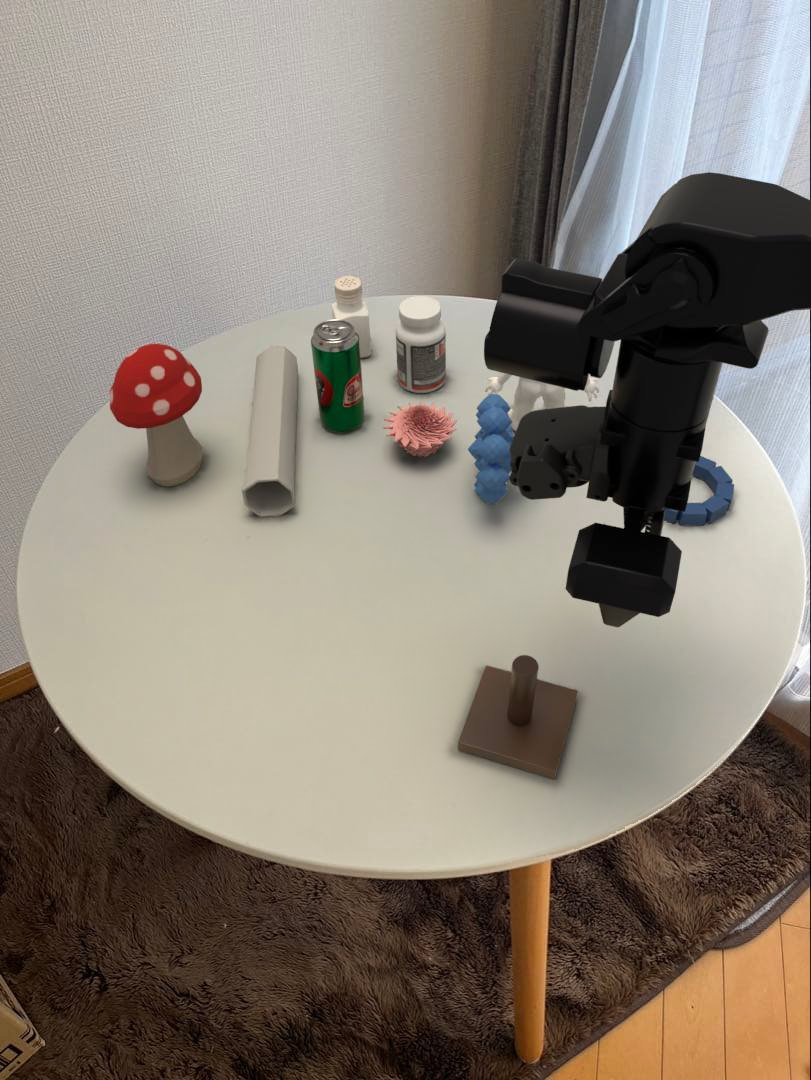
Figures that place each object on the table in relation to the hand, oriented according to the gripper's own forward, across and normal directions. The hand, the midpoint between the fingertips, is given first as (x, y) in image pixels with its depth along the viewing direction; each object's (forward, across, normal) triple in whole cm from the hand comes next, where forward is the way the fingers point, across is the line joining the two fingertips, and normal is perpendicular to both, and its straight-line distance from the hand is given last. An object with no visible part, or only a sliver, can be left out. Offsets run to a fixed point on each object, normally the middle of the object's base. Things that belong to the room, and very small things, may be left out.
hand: (622, 575), depth 64 cm
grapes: (+16, -22, -14) cm, 30 cm away
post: (+16, +4, -6) cm, 17 cm away
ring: (+16, -27, +4) cm, 32 cm away
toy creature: (+16, -34, -13) cm, 39 cm away
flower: (+16, -26, -24) cm, 39 cm away
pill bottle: (+16, -38, -28) cm, 50 cm away
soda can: (+16, -28, -34) cm, 47 cm away
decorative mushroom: (+16, -16, -48) cm, 53 cm away
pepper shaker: (+16, -42, -37) cm, 58 cm away
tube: (+16, -24, -40) cm, 49 cm away
